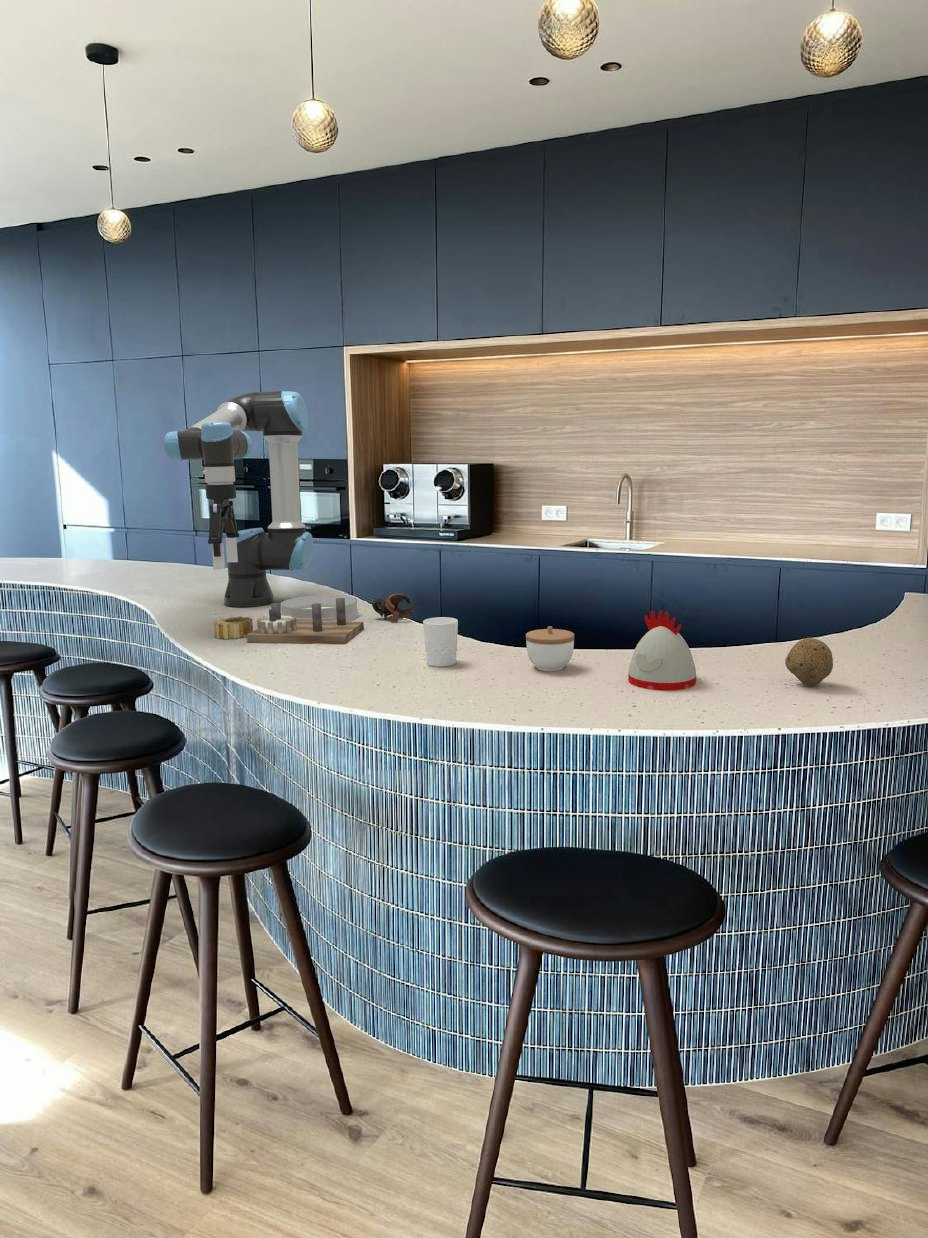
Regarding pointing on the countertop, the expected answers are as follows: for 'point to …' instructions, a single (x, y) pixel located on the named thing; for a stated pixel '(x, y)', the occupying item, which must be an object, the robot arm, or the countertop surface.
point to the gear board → (305, 627)
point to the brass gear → (232, 627)
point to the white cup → (440, 641)
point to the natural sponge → (810, 661)
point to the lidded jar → (550, 648)
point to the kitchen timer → (662, 657)
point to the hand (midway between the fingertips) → (226, 565)
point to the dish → (303, 607)
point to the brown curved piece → (393, 607)
